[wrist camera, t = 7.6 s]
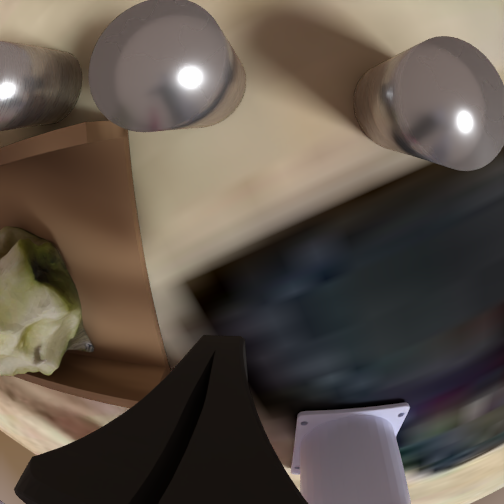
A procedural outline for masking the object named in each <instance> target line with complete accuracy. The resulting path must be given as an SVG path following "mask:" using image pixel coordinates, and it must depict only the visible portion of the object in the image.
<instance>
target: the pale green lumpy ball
mask: <svg viewBox="0 0 504 504" xmlns="http://www.w3.org/2000/svg"><path fill="white" fill-rule="evenodd" d="M67 350H81V351H86V352H93V351H94V346H93V345H92V343H91V341H90V339H89V337H88V335H87V333H86V331H85V329H84V328H83V320H82V308H81V303H80V299H79V295H78V291H77V288H76V285H75V283H74V282H73V280H72V278H71V276H70V274H69V272H68V270H67V268H66V265H65V263H64V261H63V259H62V257H61V255H60V253H59V250H58V249H57V248H56V247H55V245H54V244H52V243H51V242H50V241H48V240H46V239H43V238H41V237H38V236H37V235H35V234H33V233H31V232H29V231H26V230H24V229H22V228H18V227H11V226H6V227H3V228H2V229H1V230H0V375H1V376H3V375H6V376H14V375H16V374H25V373H27V372H32V373H34V372H39V371H40V372H41V373H43V374H44V375H51V374H52V373H53V372H54V371H55V370H56V369H57V368H58V367H59V365H60V362H61V359H62V357H63V355H64V354H65V352H66V351H67Z"/></svg>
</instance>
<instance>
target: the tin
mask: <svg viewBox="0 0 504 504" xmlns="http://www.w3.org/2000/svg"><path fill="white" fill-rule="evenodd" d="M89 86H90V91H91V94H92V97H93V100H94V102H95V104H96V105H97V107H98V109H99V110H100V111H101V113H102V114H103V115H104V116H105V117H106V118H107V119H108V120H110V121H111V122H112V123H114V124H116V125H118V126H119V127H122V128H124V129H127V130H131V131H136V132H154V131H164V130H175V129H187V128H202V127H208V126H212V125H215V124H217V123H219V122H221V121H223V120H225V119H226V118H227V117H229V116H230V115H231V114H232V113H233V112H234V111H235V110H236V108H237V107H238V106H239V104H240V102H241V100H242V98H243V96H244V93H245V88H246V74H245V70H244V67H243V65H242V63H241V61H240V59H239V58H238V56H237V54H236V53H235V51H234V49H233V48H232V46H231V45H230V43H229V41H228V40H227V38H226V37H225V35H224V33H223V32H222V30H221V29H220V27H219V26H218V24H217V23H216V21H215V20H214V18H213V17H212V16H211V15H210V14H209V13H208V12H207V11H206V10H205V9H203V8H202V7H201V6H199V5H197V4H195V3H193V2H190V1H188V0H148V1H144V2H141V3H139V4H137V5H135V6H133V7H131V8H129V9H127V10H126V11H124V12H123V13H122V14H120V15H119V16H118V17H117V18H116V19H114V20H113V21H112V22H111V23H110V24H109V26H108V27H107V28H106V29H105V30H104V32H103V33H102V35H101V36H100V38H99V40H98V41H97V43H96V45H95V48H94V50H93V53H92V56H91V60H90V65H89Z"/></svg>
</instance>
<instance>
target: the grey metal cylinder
mask: <svg viewBox="0 0 504 504" xmlns="http://www.w3.org/2000/svg"><path fill="white" fill-rule="evenodd" d="M354 110H355V115H356V118H357V120H358V122H359V125H360V126H361V128H362V130H363V131H364V132H365V134H366V135H367V136H368V137H369V138H370V139H371V140H372V141H374V142H375V143H376V144H378V145H380V146H382V147H384V148H386V149H390V150H393V151H397V152H401V153H404V154H408V155H411V156H415V157H418V158H421V159H424V160H428V161H431V162H434V163H437V164H440V165H443V166H446V167H449V168H452V169H456V170H461V171H470V170H476V169H479V168H481V167H483V166H485V165H487V164H488V163H490V162H491V161H492V160H493V159H494V158H495V157H496V156H497V155H498V153H499V152H500V150H501V148H502V147H503V145H504V85H503V82H502V80H501V78H500V76H499V74H498V72H497V71H496V69H495V68H494V66H493V65H492V64H491V62H490V61H489V60H488V59H487V58H486V56H485V55H484V54H483V53H481V52H480V51H479V50H478V49H477V48H475V47H474V46H472V45H471V44H469V43H467V42H465V41H463V40H460V39H458V38H454V37H447V36H441V37H434V38H431V39H428V40H426V41H424V42H422V43H420V44H418V45H416V46H414V47H412V48H410V49H408V50H406V51H404V52H402V53H400V54H398V55H396V56H394V57H392V58H390V59H388V60H386V61H384V62H383V63H381V64H379V65H377V66H375V67H373V68H372V69H370V70H368V71H367V72H366V73H365V74H364V75H363V76H362V77H361V79H360V80H359V82H358V84H357V86H356V89H355V93H354Z"/></svg>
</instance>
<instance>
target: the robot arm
mask: <svg viewBox="0 0 504 504" xmlns="http://www.w3.org/2000/svg"><path fill="white" fill-rule="evenodd" d="M409 408H410V407H409V404H408V403H397V404H390V405H381V406H373V407H363V408H351V409H338V410H319V411H302V412H300V413H299V414H298V415H297V423H296V432H295V441H294V449H293V457H292V465H291V473H292V474H300V492H299V490H298V489H297V487H296V486H295V484H294V483H293V481H292V480H291V478H290V477H289V475H288V474H287V472H286V471H285V469H284V467H283V465H282V464H281V462H280V460H279V458H278V456H277V455H276V453H275V451H274V449H273V447H272V445H271V443H270V441H269V439H268V437H267V435H266V433H265V431H264V428H263V426H262V424H261V421H260V419H259V416H258V414H257V411H256V408H255V405H254V402H253V399H252V396H251V393H250V389H249V385H248V375H247V362H246V349H245V339H244V338H242V337H241V336H212V335H203V336H202V337H201V338H200V339H199V341H198V342H197V343H196V344H195V345H194V347H193V348H192V349H191V350H190V351H189V352H188V354H187V355H186V356H185V357H184V358H183V359H182V360H181V361H180V363H179V364H178V365H177V366H176V367H175V368H174V369H173V370H172V371H171V372H170V373H169V374H168V375H167V376H166V377H165V378H164V379H163V380H162V381H161V382H160V383H159V384H158V385H157V386H156V387H155V388H154V389H153V390H152V391H150V392H149V393H148V394H147V395H146V396H145V397H144V398H142V399H141V400H140V401H139V402H138V403H136V404H135V405H134V406H133V407H131V408H130V409H129V410H127V411H126V412H125V413H123V414H122V415H120V416H119V417H117V418H116V419H114V420H113V421H111V422H109V423H108V424H106V425H105V426H103V427H101V428H100V429H98V430H96V431H95V432H93V433H91V434H89V435H87V436H85V437H83V438H81V439H79V440H77V441H74V442H72V443H70V444H68V445H65V446H63V447H60V448H57V449H55V450H52V451H49V452H46V453H43V454H40V455H37V456H34V457H32V458H31V460H30V462H29V463H28V465H27V467H26V469H25V470H24V472H23V474H22V476H21V477H20V479H19V481H18V483H17V485H16V487H15V489H14V490H15V493H16V495H17V496H18V497H19V498H20V499H21V500H22V501H23V502H25V503H26V504H411V500H410V495H409V491H408V486H407V482H406V477H405V473H404V469H403V464H402V460H401V456H400V452H399V448H398V444H397V441H396V435H397V433H398V431H399V429H400V427H401V425H402V423H403V421H404V419H405V417H406V415H407V413H408V411H409ZM0 504H5V503H3V502H2V501H1V500H0Z"/></svg>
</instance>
